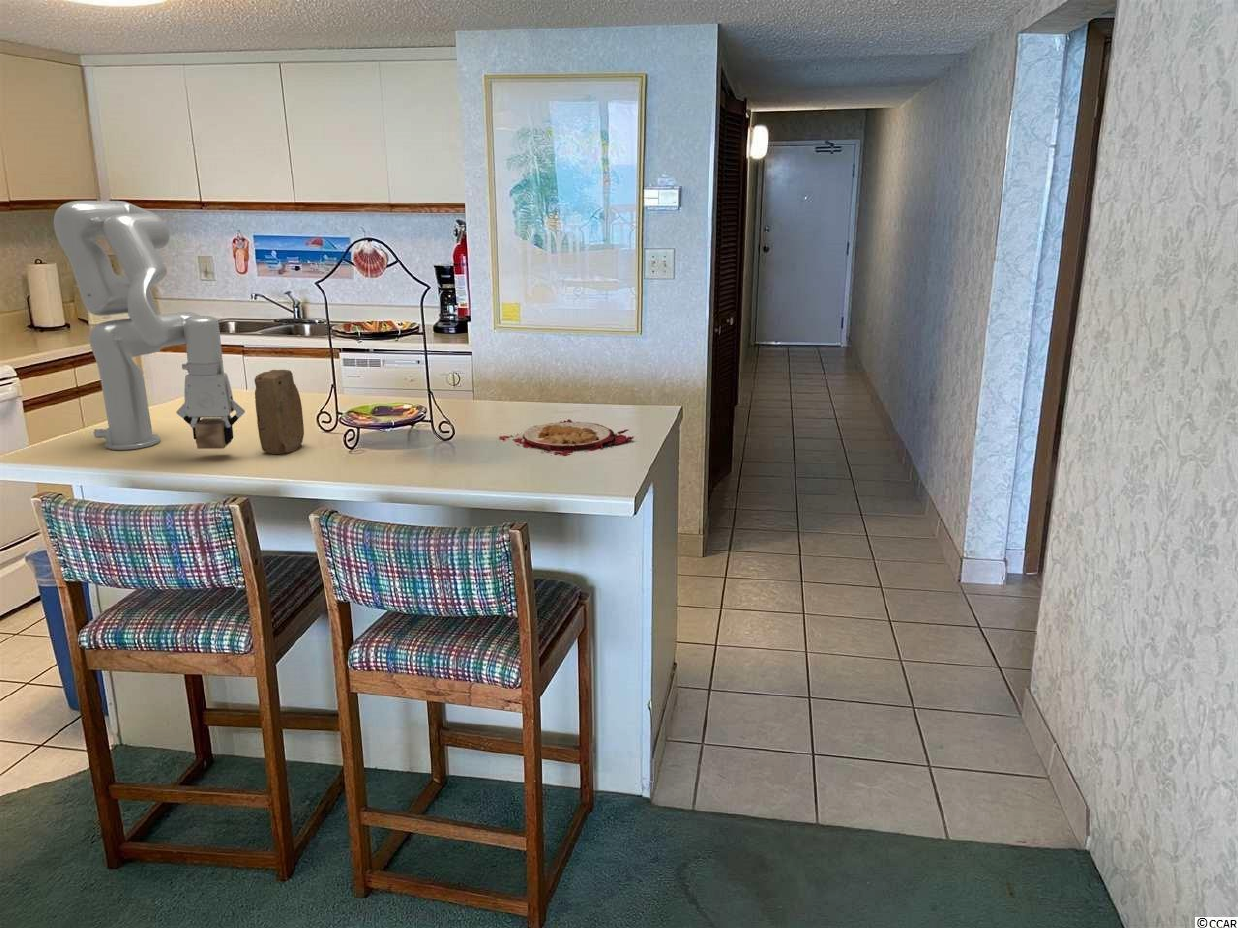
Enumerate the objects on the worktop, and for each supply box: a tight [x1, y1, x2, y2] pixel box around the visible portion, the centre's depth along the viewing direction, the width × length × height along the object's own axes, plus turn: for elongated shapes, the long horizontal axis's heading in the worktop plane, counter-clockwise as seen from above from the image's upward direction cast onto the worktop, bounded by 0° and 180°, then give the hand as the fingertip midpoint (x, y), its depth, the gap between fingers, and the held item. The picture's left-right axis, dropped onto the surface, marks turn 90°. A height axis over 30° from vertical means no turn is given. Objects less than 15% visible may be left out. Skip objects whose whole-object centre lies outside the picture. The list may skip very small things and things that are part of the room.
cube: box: [195, 417, 229, 450], centre depth 214 cm, size 6×6×6 cm
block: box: [253, 369, 305, 455], centre depth 220 cm, size 11×8×20 cm
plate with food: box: [498, 418, 635, 457], centre depth 232 cm, size 25×26×4 cm
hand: (214, 441), depth 215 cm, fingers closed on cube, 6 cm apart
